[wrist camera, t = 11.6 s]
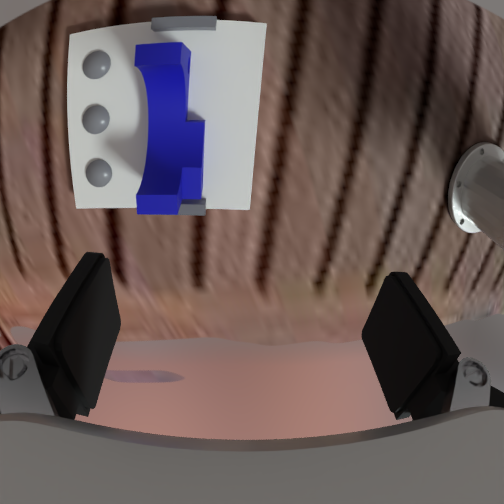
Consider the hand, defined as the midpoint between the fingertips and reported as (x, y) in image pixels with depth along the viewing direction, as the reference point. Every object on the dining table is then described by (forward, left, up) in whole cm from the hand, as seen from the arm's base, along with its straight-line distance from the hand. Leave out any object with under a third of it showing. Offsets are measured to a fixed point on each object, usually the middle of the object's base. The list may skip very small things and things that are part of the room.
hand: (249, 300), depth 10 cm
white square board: (+7, -4, -20) cm, 22 cm away
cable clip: (+5, -3, -19) cm, 19 cm away
